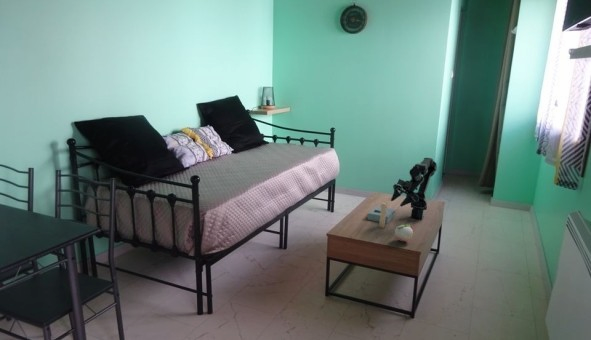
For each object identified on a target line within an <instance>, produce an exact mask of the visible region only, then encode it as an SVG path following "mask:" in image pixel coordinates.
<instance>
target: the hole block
mask: <svg viewBox="0 0 591 340" xmlns="http://www.w3.org/2000/svg"><path fill="white" fill-rule="evenodd" d="M380 213H381V206H379V205H376V206H374V207H373V208H372V209H371V210H370V211H368V213H367V220H369V221H374V222H378V223H380ZM395 213H396V209H394V208H391V207H390V208H388V207H386V217H385V224H388V223H389V222H390V221H391V220H392V219H393V218H394V217H395Z"/></svg>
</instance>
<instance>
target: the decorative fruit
mask: <svg viewBox="0 0 591 340" xmlns="http://www.w3.org/2000/svg"><path fill="white" fill-rule="evenodd" d="M411 227H412V226H411V225H410V224H402V225H399V226H396V228H395V230H394V234H395V237H396V238H397V239H398V240H399V241H400V242H406V241H408V240H410V239H411V238H412V237H413V235H414V234H413V233H414V232H413V228H411Z"/></svg>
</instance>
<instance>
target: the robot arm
mask: <svg viewBox="0 0 591 340" xmlns="http://www.w3.org/2000/svg"><path fill="white" fill-rule="evenodd" d="M437 169H438V164H437V162H436V161H435V160H434V159H433V158H431V157H424V158H423V159H422V161H421V162H420V163H415V164H414V165H413V167H412V168H411V169H409V176H410V178H411V179H410V180H406V181H405V180H404V179H400V178H399V179H398V181H397V183H394V184H393V186H392V188H393V194H392V196H391V198H390V201H391V202H393V201H395V200H396V199H398V198H399V197H401V196H402V194H404V195H405V198H404V199H403V200H402V201H401V203H400V205H399V206H400V207H404V206H406V205H408V204H410V208H412V209H411V212H410V213H411V214H410V217H411V219H416V220H421V221H422V220H423V219H424V217H425V216H424V214H425V211H426V210H428V202H427V200H426V192H427V190H428V186H429V183H430V180H431V177H433V176H434V175H435V173H436V172H437ZM416 191H417V192H416Z"/></svg>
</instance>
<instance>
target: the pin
mask: <svg viewBox="0 0 591 340" xmlns="http://www.w3.org/2000/svg"><path fill="white" fill-rule="evenodd" d="M380 205H381V206H380V207H381V213H380V222H379V226H378V227H379V228H380V229H384V228H385V225H386V223H385V217H386V208H388V207H387V205H388V204H387V203H386V202H381V204H380Z"/></svg>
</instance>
